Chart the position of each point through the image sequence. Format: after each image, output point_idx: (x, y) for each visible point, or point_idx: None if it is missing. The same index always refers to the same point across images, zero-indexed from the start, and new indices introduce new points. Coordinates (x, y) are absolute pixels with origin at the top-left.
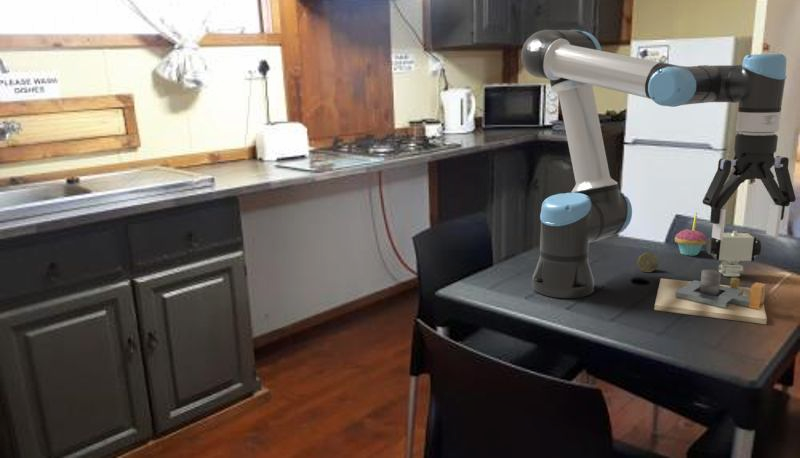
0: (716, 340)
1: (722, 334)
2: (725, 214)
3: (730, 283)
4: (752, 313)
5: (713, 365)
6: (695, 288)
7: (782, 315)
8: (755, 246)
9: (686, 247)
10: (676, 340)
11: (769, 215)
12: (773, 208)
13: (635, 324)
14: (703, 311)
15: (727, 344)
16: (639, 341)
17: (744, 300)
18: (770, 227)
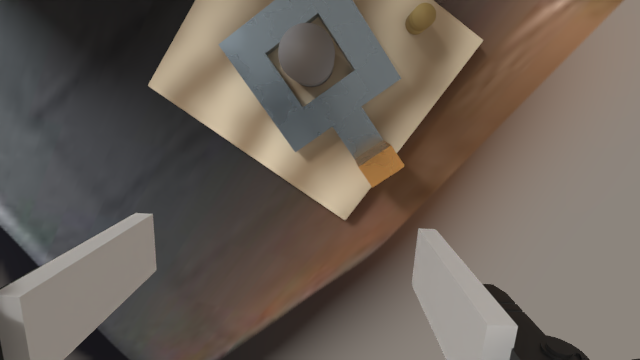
0: (200, 258)
1: (227, 238)
2: (64, 357)
3: (411, 12)
4: (338, 187)
5: (141, 336)
6: (285, 32)
7: (415, 182)
8: None
9: None
10: None
11: (451, 282)
12: (469, 345)
13: (79, 154)
14: (241, 148)
15: (210, 277)
16: (56, 230)
17: (350, 147)
18: (426, 267)
